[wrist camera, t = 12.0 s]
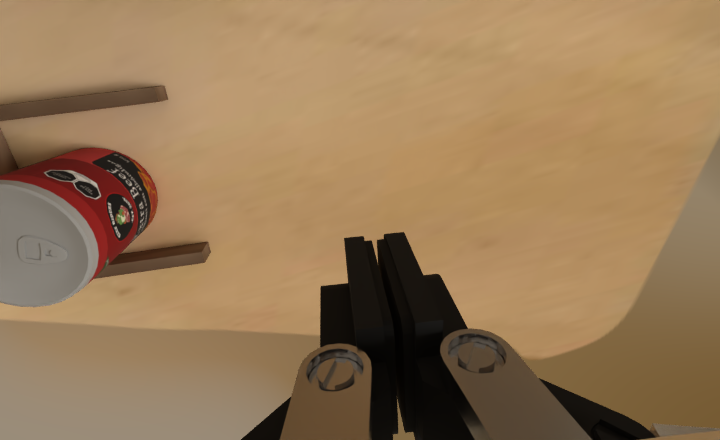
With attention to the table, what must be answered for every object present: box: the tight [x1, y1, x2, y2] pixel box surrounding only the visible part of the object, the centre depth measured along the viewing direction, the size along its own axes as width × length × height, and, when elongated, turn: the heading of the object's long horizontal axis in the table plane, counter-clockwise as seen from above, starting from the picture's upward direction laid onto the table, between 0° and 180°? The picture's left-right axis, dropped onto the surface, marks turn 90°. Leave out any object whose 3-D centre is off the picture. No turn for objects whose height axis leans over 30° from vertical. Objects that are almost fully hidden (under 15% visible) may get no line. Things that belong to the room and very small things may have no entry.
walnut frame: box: [0, 86, 211, 279], centre depth 31 cm, size 14×14×2 cm
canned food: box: [0, 148, 158, 307], centre depth 27 cm, size 8×8×11 cm
